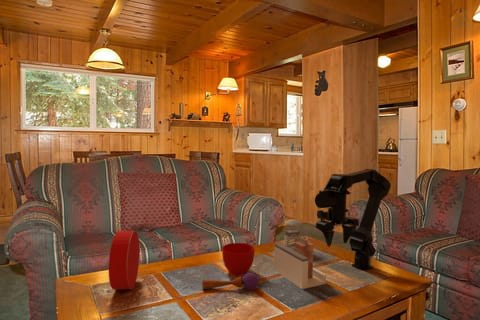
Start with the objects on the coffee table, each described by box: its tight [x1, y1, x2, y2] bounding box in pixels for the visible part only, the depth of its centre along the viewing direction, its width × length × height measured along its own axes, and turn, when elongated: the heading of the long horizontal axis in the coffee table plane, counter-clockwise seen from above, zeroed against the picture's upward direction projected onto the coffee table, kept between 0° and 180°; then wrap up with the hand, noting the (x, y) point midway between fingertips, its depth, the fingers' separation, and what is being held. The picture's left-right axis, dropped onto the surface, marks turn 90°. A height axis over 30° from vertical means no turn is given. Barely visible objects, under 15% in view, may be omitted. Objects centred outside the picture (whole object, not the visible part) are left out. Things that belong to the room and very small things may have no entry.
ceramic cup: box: [221, 242, 256, 276], centre depth 138 cm, size 13×17×10 cm
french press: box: [283, 199, 308, 251], centre depth 162 cm, size 10×12×25 cm
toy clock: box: [108, 230, 140, 290], centre depth 121 cm, size 20×6×20 cm, turn 5°
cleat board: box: [273, 242, 327, 290], centre depth 132 cm, size 11×19×11 cm, turn 26°
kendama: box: [202, 272, 260, 291], centre depth 121 cm, size 6×6×20 cm
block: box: [294, 237, 314, 279], centre depth 130 cm, size 5×5×15 cm
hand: (336, 244), depth 134 cm, fingers open, 9 cm apart
